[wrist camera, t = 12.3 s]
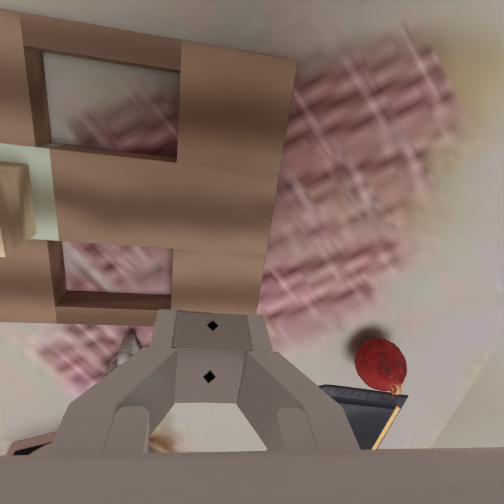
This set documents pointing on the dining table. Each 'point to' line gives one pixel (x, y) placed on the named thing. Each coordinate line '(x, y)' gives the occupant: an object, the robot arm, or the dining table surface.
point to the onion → (381, 365)
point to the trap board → (144, 175)
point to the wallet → (367, 412)
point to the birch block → (15, 207)
